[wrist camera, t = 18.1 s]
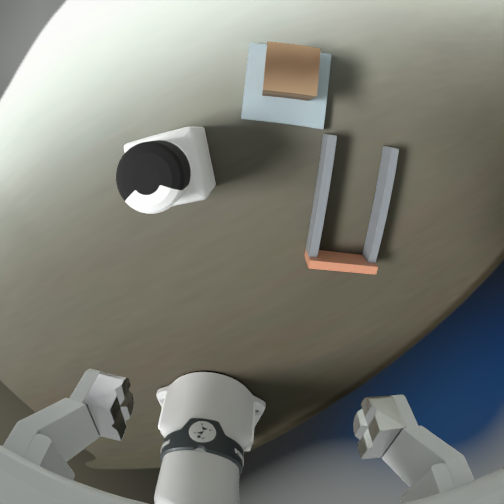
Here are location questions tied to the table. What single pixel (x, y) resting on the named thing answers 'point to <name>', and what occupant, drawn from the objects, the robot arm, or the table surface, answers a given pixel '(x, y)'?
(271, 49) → the block
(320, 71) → the tile
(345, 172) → the table surface
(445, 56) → the table surface
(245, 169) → the table surface
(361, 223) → the table surface
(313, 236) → the channel
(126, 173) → the medicine bottle
